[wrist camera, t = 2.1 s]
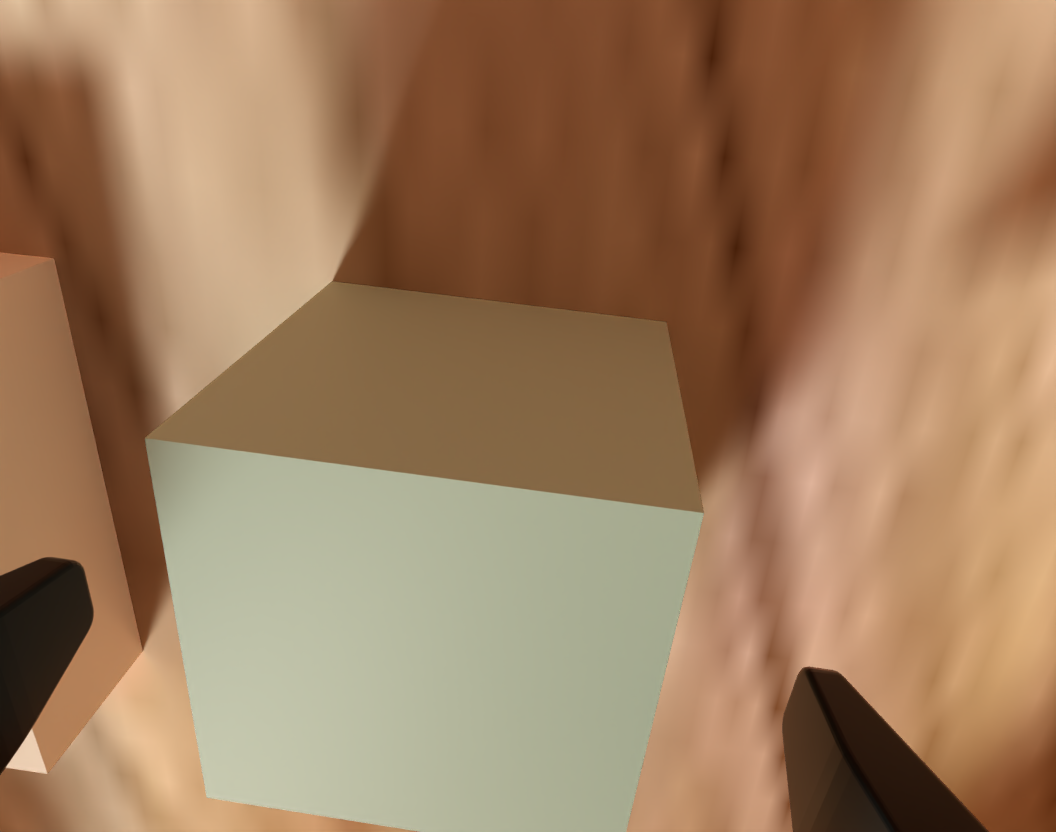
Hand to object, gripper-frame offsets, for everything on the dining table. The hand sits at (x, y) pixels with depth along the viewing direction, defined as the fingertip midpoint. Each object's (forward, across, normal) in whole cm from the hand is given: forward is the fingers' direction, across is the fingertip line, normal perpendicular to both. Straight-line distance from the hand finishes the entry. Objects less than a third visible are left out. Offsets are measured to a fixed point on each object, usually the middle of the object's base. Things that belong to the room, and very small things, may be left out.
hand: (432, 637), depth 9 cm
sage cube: (+5, 0, 0) cm, 5 cm away
